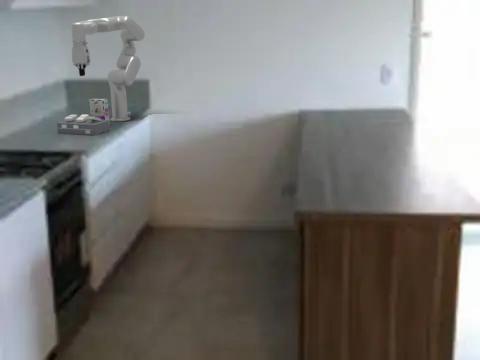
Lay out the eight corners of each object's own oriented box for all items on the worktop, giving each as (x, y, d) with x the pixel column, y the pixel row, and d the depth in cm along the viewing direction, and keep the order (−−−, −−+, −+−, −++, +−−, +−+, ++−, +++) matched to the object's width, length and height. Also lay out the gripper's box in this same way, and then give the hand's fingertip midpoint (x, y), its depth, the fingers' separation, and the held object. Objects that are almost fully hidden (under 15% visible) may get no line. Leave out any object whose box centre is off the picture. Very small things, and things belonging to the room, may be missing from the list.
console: (72, 128, 419) (71, 117, 418) (109, 130, 410) (108, 119, 408) (57, 133, 407) (56, 121, 405) (95, 135, 397) (94, 123, 395)
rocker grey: (71, 117, 413) (71, 114, 413) (77, 117, 412) (77, 114, 411) (64, 120, 407) (64, 118, 407) (71, 121, 406) (70, 118, 405)
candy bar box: (110, 125, 425) (108, 98, 421) (105, 127, 421) (103, 100, 417) (95, 124, 430) (93, 98, 426) (90, 126, 426) (88, 99, 422)
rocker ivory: (82, 116, 410) (82, 114, 409) (89, 117, 408) (88, 114, 408) (76, 121, 405) (75, 119, 404) (82, 122, 403) (82, 119, 402)
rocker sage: (94, 121, 407) (94, 118, 407) (100, 121, 405) (101, 118, 406) (87, 118, 401) (87, 115, 401) (93, 119, 399) (94, 116, 399)
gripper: (94, 43, 409) (96, 75, 414) (72, 43, 415) (75, 74, 419) (86, 44, 402) (89, 76, 407) (65, 44, 408) (68, 76, 413)
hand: (82, 75), depth 413 cm, fingers closed
